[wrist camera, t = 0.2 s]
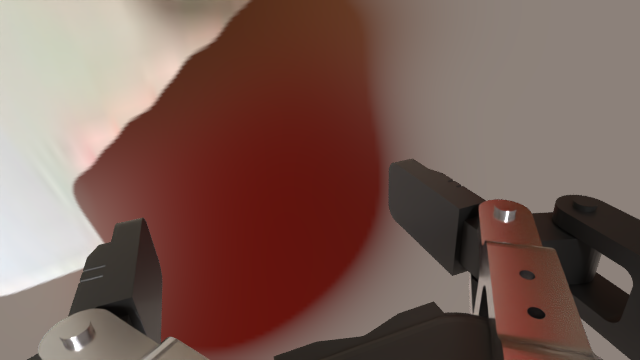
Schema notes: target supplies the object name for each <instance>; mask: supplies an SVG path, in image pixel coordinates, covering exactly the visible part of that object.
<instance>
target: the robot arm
mask: <svg viewBox="0 0 640 360" xmlns="http://www.w3.org/2000/svg"><path fill="white" fill-rule="evenodd" d="M389 209H390V212H391V215H392V216H393V218H394V220H395V221H396V222H397V223H398V224H399V225H400V226H401V227H403V228H404V229H405V230H406V231H407V232H408V233H409V234H410V235H411V236H412V237H413V238H414V239H415V240H416V241H417V242H418V243H419V244H420V245H421V246H422V247H423V248H424V249H425V250H426V251H427V252H428V253H429V254H431V255H432V257H434V258H435V259H436V260H437V261H438V262H439V263H440V264H441V265H442V266H443V267H444V268H445V269H446V270H447V271H448V272H449V273H450V274H451V275H452V276H453V275H456V274H459V273H463V272H465V271H469V272H470V278H469V299H470V314H467V313H444V312H443V311H442V310H441V309H440V308H439V307H438V306H437V305H436V304H435V302H431V303H428V304H425V305H422V306H420V307H416V308H414V309H411V310H408V311H405V312H402V313H399V314H397V315H396V316H394V317H392V318H391V319H389V320H388V321H386V322H385V323H383V324H382V325H381V326H379V327H377V328H376V329H374V330H373V331H371V332H370V333H368V334H366V335H364V336H361V337H354V338H345V339H336V340H328V341H319V342H315V343H312V344H309V345H306V346H303V347H300V348H297V349H294V350H291V351H289V352H286V353H283V354H280V355H277V356H274V360H603V359H602V358H600V357H598V356H596V355H595V354H594V352H593V351H592V349H591V346H590V343H589V340H588V338H587V335H586V332H585V329H584V327H583V324H582V321H581V319H583V320H584V321H585V322H586V323H587V324H588V325H590V326H591V327H592V328H593V329H595V330H596V331H597V332H598V333H599V334H601V335H602V336H603V337H604V338H605V339H607V340H608V341H609V342H610V343H611V344H613V345H614V346H615V347H616V348H617V349H619V350H620V351H621V352H622V353H623V354H625V355H626V356H627V357H628V358H629V359H631V360H640V220H639V219H637V218H635V217H633V216H630V215H629V214H627V213H625V212H623V211H621V210H619V209H617V208H615V207H613V206H611V205H609V204H607V203H605V202H603V201H600V200H598V199H595V198H591V197H587V196H582V195H566V196H562V197H559V198H558V199H557V200H556V203H555V207H554V211H553V212H549V213H533V214H532V213H531V211H530V210H529V209H528V208H527V207H525V206H524V205H522V204H520V203H517V202H514V201H510V200H503V199H494V200H488V201H486V200H484V199H482V198H481V197H479V196H478V195H476V194H475V193H473V192H472V191H470V190H468V189H467V188H465V187H464V186H462V187H461V185H460V184H459V183H457V182H455V181H453V180H452V179H451V178H449V177H448V176H446V175H445V174H443V173H440V172H437V171H434V170H430V169H428V168H426V167H425V166H423V165H422V164H420V163H418V162H417V161H416V160H414V159H409V160H405V161H400V162H395V163H392V164H391V165H390V167H389ZM601 254H603V255H605V256H606V257H608V258H609V259H611V260H613V261H614V262H616V263H617V264H619V265H621V266H622V267H624V268H625V269H626V270H627V271H628V272H629V274H630V275H631V277H632V280H633V288H632V291H631V293H630V295H629V294H627V293H626V292H624V291H623V290H621V289H620V288H618V287H617V286H616V285H614V284H613V283H611V282H610V281H608V280H607V279H605V278H604V277H602V276H601V275H600V274H598V273H596V270H597V267H598V263H599V260H600V257H601ZM83 271H84V272H83V273H82V275H81V278H80V283H79V285H78V288H77V291H76V294H75V297H74V300H73V303H72V306H71V310H70V313H69V316H68V317H67V318H65V319H63V320H62V321H60V322H59V323H57V324H56V325H55V326H54V327H52V328H51V329H50V330H49V331H48V332H47V333H46V334H45V336H44V337H43V338H42V340H41V342H40V344H39V348H38V354H36V355H35V356H33V357H31V358H29V359H27V360H209V359H208V358H206V357H204V356H203V355H201V354H200V353H198V352H196V351H195V350H193V349H192V348H190V347H189V346H186V345H185V344H184V343H182V342H180V341H179V340H177V339H175V338H173V337H168V338H166V339H165V340H164V341H163V342H162V343H161V311H162V310H161V309H162V273H161V268H160V263H159V260H158V257H157V254H156V251H155V248H154V244H153V241H152V238H151V235H150V232H149V229H148V226H147V223H146V221H145V219H144V218H140V219H136V220H131V221H126V222H122V223H117V224H116V225H115V228H114V232H113V236H112V240H111V242H110V243H105V244H101V245H98V246H97V248H96V249H95V250H94V251H93V252H92V253H91V254H90V255H89V256H88V257H87V260H86V263H85V266H84V269H83Z"/></svg>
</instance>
